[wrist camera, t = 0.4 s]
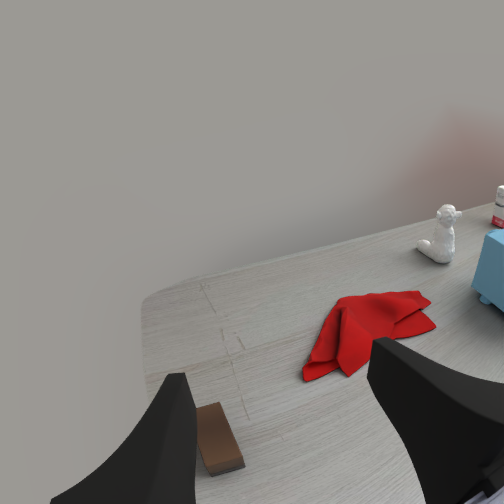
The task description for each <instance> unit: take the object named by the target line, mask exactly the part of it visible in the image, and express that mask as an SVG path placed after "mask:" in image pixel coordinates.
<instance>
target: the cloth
mask: <svg viewBox="0 0 504 504" xmlns="http://www.w3.org/2000/svg"><path fill="white" fill-rule="evenodd" d="M430 304H431V302H430V301H429V300H427V299H426V298H424V297H422V295H421V293H420V292H419V291H404V292H386V293H381V294H374V293H369V294H367V295H364V296H348V297H344V298H340V299H339V300H338V301H337V305H335V306H334V308H333V309H332V311H331V312H330V314H329V315H328V317H327V318H326V320H325V322H324V325H323V327H322V330H321V332H320V335H319V338H318V340H317V342H316V344H315V346H314V348H313V350H312V352H311V355H310V358H309V361H308V363H307V364H306V365H305V366H304V367H303V368H302V370H303V380H305V381H306V382H307V381H310V380H313V379H317V378H319V377H321V376H323V375H325V374H327V373H329V372H331V371H333V370H335V369H337V368H339V367H341V370H342V371H343V372H344V373H345V374H346V375H347V376H348V377H349V376H351V375H352V374H353V373H354V372H355V371H357V370H358V369H359V368H360V367H362V366H363V365H364V364H365V363H366V362H367V361H368V360H369V359H370V355H371V348H372V341H373V340H374V339H377V338H381V337H385V336H387V337H389V338H391V339H393V340H394V339H395V338H406V337H411V336H416V335H419V334H422V333H425V332H428V331H430V330H432V329H434V328H436V325H435V324H434V323H433V322H432V321H431V320H430V319H429V318H428V317H427V316H426V315H425V314H424V313H422V312H421V311H420V310H419V309H422V310H423V309H424V308H425V307H427V306H428V305H430Z"/></svg>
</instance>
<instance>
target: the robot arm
mask: <svg viewBox="0 0 504 504" xmlns="http://www.w3.org/2000/svg"><path fill="white" fill-rule="evenodd" d="M367 379H368V382H369V384H370V386H371V389H372V391H373V393H374V395H375V397H376V399H377V401H378V402H379V404H380V405H381V407H382V409H383V410H384V412H385V413H386V415H387V416H388V418H389V420H390V421H391V423H392V424H393V426H394V427H395V429H396V431H397V432H398V434H399V435H400V437H401V439H402V441H403V443H404V445H405V447H406V449H407V451H408V454H409V456H410V458H411V460H412V463H413V465H414V468H415V471H416V473H417V476H418V479H419V482H420V485H421V488H422V491H423V494H424V498H425V501H426V504H504V383H497V382H492V381H488V380H483V379H479V378H475V377H472V376H469V375H466V374H463V373H460V372H457V371H455V370H452V369H450V368H448V367H445V366H443V365H441V364H439V363H436V362H434V361H432V360H430V359H428V358H426V357H424V356H422V355H421V354H419V353H417V352H415V351H413V350H411V349H409V348H408V347H406V346H404V345H402V344H400V343H398V342H396V341H395V340H393V339H391V338H389V337H387V336H385V337H381V338H377V339H374V340H373V341H372V348H371V355H370V362H369V368H368V374H367ZM197 434H198V430H197V412H196V407H195V404H194V401H193V398H192V394H191V391H190V388H189V385H188V382H187V379H186V375H185V373H173V374H168V375H167V376H166V378H165V380H164V382H163V384H162V385H161V387H160V389H159V391H158V393H157V394H156V396H155V398H154V399H153V401H152V403H151V404H150V406H149V407H148V409H147V411H146V412H145V414H144V415H143V417H142V418H141V420H140V421H139V422H138V424H137V425H136V427H135V428H134V429H133V431H132V432H131V433H130V435H129V436H128V437H127V438H126V440H125V441H124V442H123V443H122V444H121V445H120V446H119V448H118V449H117V450H116V451H115V452H114V453H113V454H112V455H111V456H110V457H109V458H108V459H107V460H106V461H105V462H104V463H103V464H102V465H101V466H100V467H98V468H97V469H96V470H95V471H94V472H92V473H91V474H90V475H89V476H87V477H86V478H85V479H83V480H82V481H81V482H79V483H78V484H76V485H75V486H73V487H72V488H70V489H68V490H67V491H65V492H63V493H61V494H60V495H58V496H56V497H54V498H52V499H51V502H50V504H196V499H195V465H196V450H197Z"/></svg>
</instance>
